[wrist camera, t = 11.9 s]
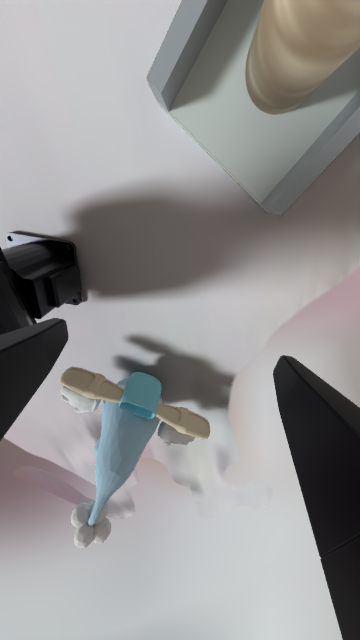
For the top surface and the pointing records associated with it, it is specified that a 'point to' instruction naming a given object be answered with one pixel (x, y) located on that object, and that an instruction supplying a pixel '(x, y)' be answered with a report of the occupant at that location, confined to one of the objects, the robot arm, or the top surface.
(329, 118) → the tray
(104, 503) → the light blue winged piece
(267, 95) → the red-capped cream cylinder
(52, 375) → the top surface
